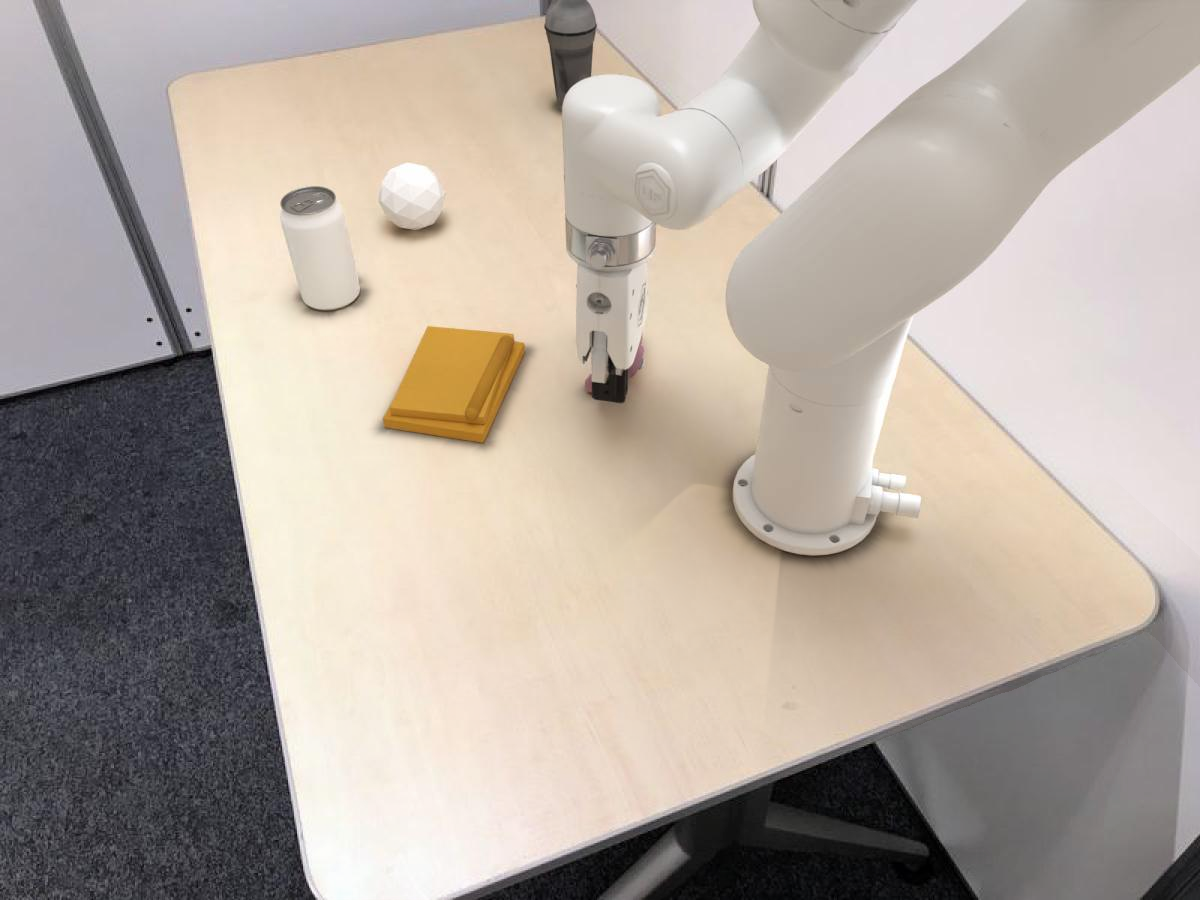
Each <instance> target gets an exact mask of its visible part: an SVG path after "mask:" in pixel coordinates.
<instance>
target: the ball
mask: <svg viewBox="0 0 1200 900" xmlns="http://www.w3.org/2000/svg"><path fill="white" fill-rule="evenodd" d="M445 199H446V192H445V190H444V188H443V185H442V184H441V182H440V179H439V177H438V175H437V174H436V173H434V172H433V170H431V169H430V168H428V167H427V166H426V165H421V164H417V163H411V162H404V163H402V164H400V165H397V166H395V167H393V168H390V169H388V172H387V173H386V175H385V176H384V178H383V180H382V181H381V183H380V189H379V195H378V200H377V201H378V203H379V204H380V207H381V209H382V211H383V213H384V215H385V218H386V219H387V220H388V221H390V222H391V223H393V224H394V225H395V226H396V227H398V228H402V229H408V230H413V231H418V230H421V229H424V228H426V227H429V226H432V225H434V224H435V223H436V221H437V220H438V219H439V217H440V216H441V214H442V212H443V207H444V202H445Z"/></svg>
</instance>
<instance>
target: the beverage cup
mask: <svg viewBox="0 0 1200 900" xmlns="http://www.w3.org/2000/svg"><path fill="white" fill-rule="evenodd" d="M594 12H595V11H594V8H593V6H592V5H591V3H590V2H589V1H588V0H552V1H551V2H550V4H549V6H548V8H547V10H546V13H545V19H544V25H543V26H544V30H545V34H546V39H547V43H548V45H549V55H550V62H551V69H552V76H553V83H554V84H553V85H554V92H555V97H556V101H557V108H558V110H559V111H561V112H562V105H563V101H564V98H565V95H566V94H567V92H568V91H569V90H570V88H571V87H572V86H573V85H575V84H576V83H578V82H579V81H581V80H583V79H586V78H588V77H592V67H593V54H594V42H595V39H596V32H597V27H598V24H597V20H596V19H597V18H596V15H595V13H594Z"/></svg>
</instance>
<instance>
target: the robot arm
mask: <svg viewBox="0 0 1200 900" xmlns="http://www.w3.org/2000/svg"><path fill="white" fill-rule="evenodd" d="M751 1H752V7H753V10H754V14H755V16H756V18H757V21H758V22H759V24H758V26H757V27H756V29H755V31H754V33H753V34H752V35H751V37H750V38H749V40H748V41H747V42H746V44H745V45H744V46H743V48H742V49H741V50H740V52H739V53H738V54H737V56H736V57H735V58H734V59H733V61H732V62H731V63H730V65H729V66H728V68H727V69H726V70H725V71H724V72H723V74H722V75H721V76H720V77H719V78H718V79H717V80H716V82H714V83H713V84H712V85H711V86H710V87H709V88H707V89H706V90H704V91H702V92H701V93H700V94H698V95H696V96H695V97H693V98H692V99H691V100H689V101H688V102H686V103H685V104H683V105H682V106H680V107H678V108H677V109H675V110H674V111H673V112H669V113H666V114H662V104H661V101H660V99H659V96H658V93H657V92H656V90H655V89H654V88H653V87H652V86H651V85H650V84H649V83H647V82H646V81H644V80H643V79H640V78H637V77H634V76H632V75H627V74H626V75H625V74H618V73H617V74H616V73H606V74H597V75H593V76H592V75H591V77H588V78H586V79H583V80H581V81H579V82H578V83H576V84H575V85H573V86H572V87H571V88H570V90H569V91H568V92H567V94H566V95H565V98H564V101H563V105H562V111H561V130H562V132H561V133H562V160H563V189H564V190H563V192H564V219H565V221H564V222H565V223H564V224H565V250H566V253H567V255H568V256H569V258H570V259H571V260H572V261H573V262H574V263H576V264H577V265H576V268H577V270H576V284H575V288H576V292H575V293H576V294H575V295H576V299H575V329H576V330H575V338H576V340H575V341H576V353H577V358H578V361H580V363H581V364H582V365H584V364H586V363H587V362H588V360H589V356H590V362H591V374H592V393H591V397H592V399H593V400H595V401H603V402H609V403H617V404H624V403H625V402H626V398H627V394H628V390H629V378H628V368H629V367H630V366H631V365H632V364H633V362H634V359H635V356H636V353H637V349H638V346H639V343H640V339H641V336H642V337H643V335H642V332H643V333H644V328H645V325H646V322H647V317H648V311H649V260H651V258H652V257H654V254H655V252H656V241H657V225H658V226H659V227H661V228H664V229H668V230H672V231H683V230H689V229H691V228H694V227H696V226H699V225H700V224H702V223H703V222H704V221H706V220H707V219H708V218H709V217H711V216H712V215H713V214H715V213H716V212H717V211H718V210H719V209H721V208H722V207H723V206H724V205H726V204H727V203H728V202H729V201H730V200H731V199H732V198H733V197H734V196H736V194H737V193H739V192H740V191H742V190H743V189H744V188H745V187H747V186H748V185H749V184H750V183H751V182H752V181H754V180H755V179H757V177H759V176H760V175H762V174H763V173H764V172H766V170H768V169H769V168H770V167H771V166H772V165H773V164H774V163H775V162H776V161H777V160H778V159H779V158H780V157H781V156H783V154H784V153H785V152H786V151H787V150H788V148H789V147H790V146H791V145H792V144H793V143H794V142H795V141H796V140H797V138H798V137H799V136H800V135H802V133H803V132H804V131H805V130H806V128H808V126H809V125H811V123H812V122H813V121H814V120H815V119H816V117H817V116H818V115H819V114H820V113H821V112H822V111H823V110H824V109H825V107H826V106H828V105H829V103H830V102H831V100H832V99H833V98H834V97H835V96H836V95H837V94H838V92H839V91H840V90H841V88H842V87H843V86H844V85H845V83H846V82H847V81H848V80H849V79H850V78H851V77H853V76H854V75H855V74H856V73H857V72H858V70H859V68H860V66H861V65H862V64H863V63H864V62H865V61H866V59H867V58H868V57H869V56H870V55H871V54H872V53H873V51H874V50H875V49H876V48H877V47H878V46H879V45H880V43H882V41H883V40H884V39H885V38H886V37H887V36H888V34H890V32H892V30H893V29H894V28H895V27H896V26H897V24H898V23H899V21H900V20H901V19H902V18H903V17H904V16H905V14H907V12H909V10H910V9H912V7H913V6H914V5H915V4H916V2H917V1H918V0H751ZM1198 66H1200V0H1025V1H1023V3H1021V5H1020V6H1019V7H1018V8H1016V9H1015V10H1014V11H1013V12H1012V13H1011V14H1010V15H1008V17H1006V18H1005V19H1004V20H1003V21H1002V22H1001V23H1000V24H999V25H997V27H995V28H994V29H993V30H992V31H991V32H990V33H989V34H988V35H986V37H985V38H983V39H982V40H981V41H980V42H979V43H977V44H976V45H975V46H974V47H972V48H971V50H969V51H968V52H967V53H966V54H965V55H963V56H962V57H961V58H960V59H959V60H957V61H956V62H954V63H953V64H952V65H951V66H949V67H948V68H947V69H946V70H943V72H940V74H938V75H936V76H935V77H934V78H932V79H930V80H929V81H927V82H926V83H925V84H923V85H921V86H920V87H919V88H917V89H916V90H915V91H913V92H912V93H911V94H909V96H907V97H906V98H905V99H904V100H903V101H902V102H900V103H899V104H898V105H896V107H895V108H894V109H892V110H891V111H890V112H889V113H888V114H886V115H885V117H883V118H882V119H881V120H879V122H878V123H876V124H875V125H874V126H873V127H872V128H871V129H869V131H867V132H866V133H865V134H864V135H863V136H862V137H860V139H859V140H858V141H856V142H855V144H853V145H852V146H851V147H850V148H849V149H848V150H847V151H846V152H845V153H844V154H843V155H842V156H840V158H838V159H837V160H836V161H835V162H834V163H833V164H832V165H831V166H830V167H829V168H827V170H826V171H825V172H824V173H822V175H820V176H819V177H818V178H817V179H816V180H815V181H814V182H813V183H812V184H811V185H810V186H809V187H808V188H807V189H806V190H805V191H804V192H802V193H801V195H799V196H798V197H797V198H796V199H795V200H793V202H791V204H790V205H789V206H788V207H786V208H785V209H784V210H783V211H782V212H781V213H780V214H779V215H778V216H777V217H776V218H775V219H774V220H772V222H770V223H769V225H767V226H766V227H765V228H764V229H763V230H762V231H761V232H760V233H758V235H757V236H755V237H754V238H753V239H752V240H751V241H750V242H749V243H748V244H746V245H745V247H744V248H743V249H742V250H741V251H740V252H739V254H738V255H737V257H736V258H735V260H734V262H733V264H732V265H731V268H730V270H729V273H728V277H727V281H726V287H725V296H724V297H725V298H724V299H725V302H724V303H725V311H726V317H727V320H728V322H729V325H730V328H731V330H732V332H733V334H734V336H735V338H736V339H737V341H738V342H739V344H740V345H741V346H742V347H743V349H745V350H746V351H747V352H748V353H749V354H750V355H752V357H754V358H756V359H757V360H758V361H760V362H762V363H764V364H766V365H767V373H766V379H765V387H764V392H763V393H764V394H763V400H762V408H761V416H760V421H759V422H760V423H759V429H758V436H757V442H756V449H755V453H754V454H752V455H751V456H750V457H748V458H747V459H746V460H745V461H744V462H743V463H742V464H741V465H740V467H739V469H738V470H737V472H736V475H735V477H734V479H733V486H732V502H733V506H734V510H735V512H736V515H737V516H738V518H739V520H740V521H741V523H742V524H743V525H744V526H745V528H746V529H747V530H748V531H749V532H750V533H751V534H753V535H754V536H755V537H756V538H757V539H759V540H761V541H762V542H764V543H766V544H767V545H770V546H771V547H774V548H776V549H779V550H781V551H784V552H786V553H787V552H788V553H791V554H796V555H805V556H827V555H832V554H833V555H834V554H837V553H841V552H844V551H847V550H849V549H851V548H853V547H854V546H856V545H858V544H859V543H861V542H863V540H864V539H865V538H866V537H868V535H869V534H870V533H871V531H872V530H873V528H874V526H875V524H876V521H877V517H878V516H879V515H880V512H882V513H889V514H895V516H899V517H906V518H912V519H918V518H919V515H920V513H921V507H922V496H921V495H917V494H911V493H904V491H905V488H906V482H907V476H906V475H901V474H895V473H890V474H889V473H884V472H879V469H878V468H873V464H874V456H875V453H876V448H877V446H878V445H877V444H878V441H879V437H880V434H881V429H882V426H883V422H884V418H885V415H886V410H887V407H888V403H889V399H890V396H891V391H892V388H893V385H894V382H895V380H896V377H897V376H896V375H897V372H898V368H899V365H900V361H901V357H902V355H903V350H904V347H905V343H906V340H907V338H908V334H909V331H910V328H911V325H912V322H913V320H914V317H915V315H916V314H918V313H919V312H920V311H922V310H924V309H926V308H927V307H929V305H931V304H933V303H934V302H936V301H938V300H939V299H940V298H941V297H943V296H944V295H946V294H947V293H949V292H950V291H952V289H954V288H955V287H957V286H958V285H959V284H961V283H962V282H963V281H964V280H965V279H966V278H968V277H969V276H970V275H971V274H973V273H974V272H975V271H976V270H977V269H978V268H979V267H980V266H981V265H982V264H983V263H984V262H985V261H986V260H987V259H988V258H989V257H990V256H991V255H992V254H993V253H994V252H995V251H996V250H997V248H998V247H999V246H1000V245H1001V244H1002V242H1004V240H1005V239H1006V237H1007V236H1008V235H1009V234H1010V232H1011V231H1012V230H1013V229H1014V228H1015V226H1016V225H1017V224H1018V223H1019V221H1020V220H1021V219H1022V218H1023V217H1024V215H1025V214H1026V212H1028V210H1029V209H1030V208H1031V206H1032V205H1034V202H1035V201H1036V200H1037V199H1038V198H1039V196H1040V195H1041V193H1042V192H1043V191H1044V190H1045V189H1046V188H1047V186H1049V184H1050V183H1051V182H1052V181H1053V180H1054V179H1055V178H1056V177H1057V176H1058V175H1059V174H1060V173H1062V172H1063V171H1064V170H1066V168H1068V167H1070V166H1071V165H1072V164H1073V163H1074V162H1075V161H1077V160H1078V159H1079V158H1081V157H1082V156H1083V155H1084V154H1086V153H1087V152H1088V151H1090V150H1092V149H1093V148H1094V147H1095V146H1097V145H1098V144H1099V143H1101V142H1102V141H1103V140H1105V139H1107V137H1108V136H1111V134H1113V133H1114V132H1116V131H1118V129H1120V128H1121V127H1122V126H1123V125H1125V124H1126V123H1127V122H1128V121H1130V120H1131V119H1132V118H1134V117H1135V116H1136V115H1137V114H1139V113H1140V112H1141V111H1142V110H1143V109H1145V108H1146V107H1147V106H1149V105H1150V104H1151V103H1153V102H1154V101H1156V100H1157V99H1159V97H1161V96H1162V95H1164V94H1165V93H1166V92H1167V91H1168V90H1170V89H1171V88H1172V87H1174V86H1175V85H1176V84H1177V83H1179V82H1181V80H1182V79H1184V78H1185V77H1186V76H1187V75H1189V74H1190V73H1191V72H1192V71H1193V70H1195V69H1196V68H1197V67H1198ZM884 488H885V489H888V490H892V491H899V492H898V493H897V492H889V491H885V490H884Z"/></svg>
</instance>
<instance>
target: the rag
mask: <svg viewBox="0 0 1200 900" xmlns="http://www.w3.org/2000/svg"><path fill="white" fill-rule="evenodd" d="M525 353H526V349H525V342H520V341H515V334H514V333H509V332H500V331H499V332H497V331H487V330H477V329H476V330H475V329H467V328H465V329H464V328H455V327H454V328H453V327H442V326H433V325H427V326H426V329H425V331H424V333H423V335H422V337H421V340H420V341H419V344H418V346H417V348H416V350H415V353H414V355H413V357H412V359H411V361H410V363H409V365H408V367H407V369H406V372H405V374H404V376H403V378H402V381H401V383H400V385H399V387H398V389H397V392H396V393H395V396H394V397H393V400H392V401H391V403H390V405H389V406H388V408H387V410H386V412H385V413H384V415H383V417H382V421H383V425H384V428H387V429H393V430H400V431H406V432H410V433H411V432H412V433H419V434H425V435H431V436H437V437H444V438H450V439H456V440H463V441H470V442H476V443H482V444H483V443H485V440H486V438H487V436H488V434H489V432H490V430H491V427H492V425H493V423H494V421H495V419H496V416H497V414H498V412H499V410H500V408H501V405H502V403H503V401H504V399H505V396H506V395H507V392H508V390H509V387H510V385H511V383H512V381H513V379H514V376H515V375H516V372H517V370H518V368H519V366H520V363H521V362H522V359H523V356H524V355H525Z"/></svg>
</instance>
